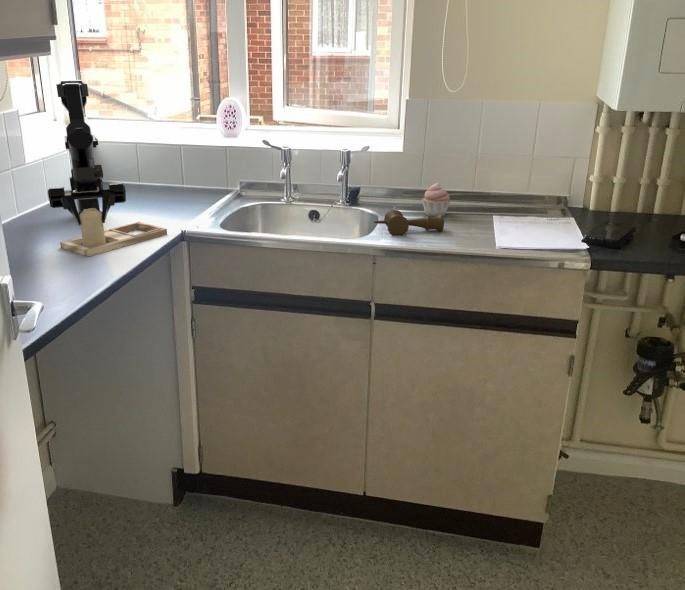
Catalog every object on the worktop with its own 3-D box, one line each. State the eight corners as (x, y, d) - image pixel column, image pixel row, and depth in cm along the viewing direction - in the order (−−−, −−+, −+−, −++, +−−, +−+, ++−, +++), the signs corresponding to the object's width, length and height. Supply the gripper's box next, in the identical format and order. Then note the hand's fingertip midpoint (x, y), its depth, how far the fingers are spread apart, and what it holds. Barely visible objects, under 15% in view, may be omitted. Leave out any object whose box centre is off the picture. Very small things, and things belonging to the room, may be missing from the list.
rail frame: (60, 247, 173) (59, 241, 172) (139, 226, 192) (138, 221, 191) (88, 256, 167) (87, 250, 166) (167, 234, 185) (166, 228, 185)
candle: (98, 250, 171) (93, 212, 168) (79, 248, 172) (74, 211, 169) (109, 244, 176) (105, 207, 173) (91, 242, 177) (86, 205, 174)
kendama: (445, 237, 187) (375, 236, 185) (438, 229, 196) (371, 228, 194) (447, 216, 185) (376, 215, 183) (440, 209, 194) (372, 207, 192)
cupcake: (456, 217, 205) (458, 184, 201) (428, 219, 202) (430, 187, 198) (441, 209, 213) (443, 178, 209) (415, 212, 210) (416, 180, 206)
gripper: (42, 156, 166) (48, 209, 160) (120, 152, 172) (129, 203, 167) (47, 181, 176) (53, 232, 170) (121, 176, 182) (129, 226, 177)
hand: (91, 223), depth 171 cm, fingers closed on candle, 5 cm apart
